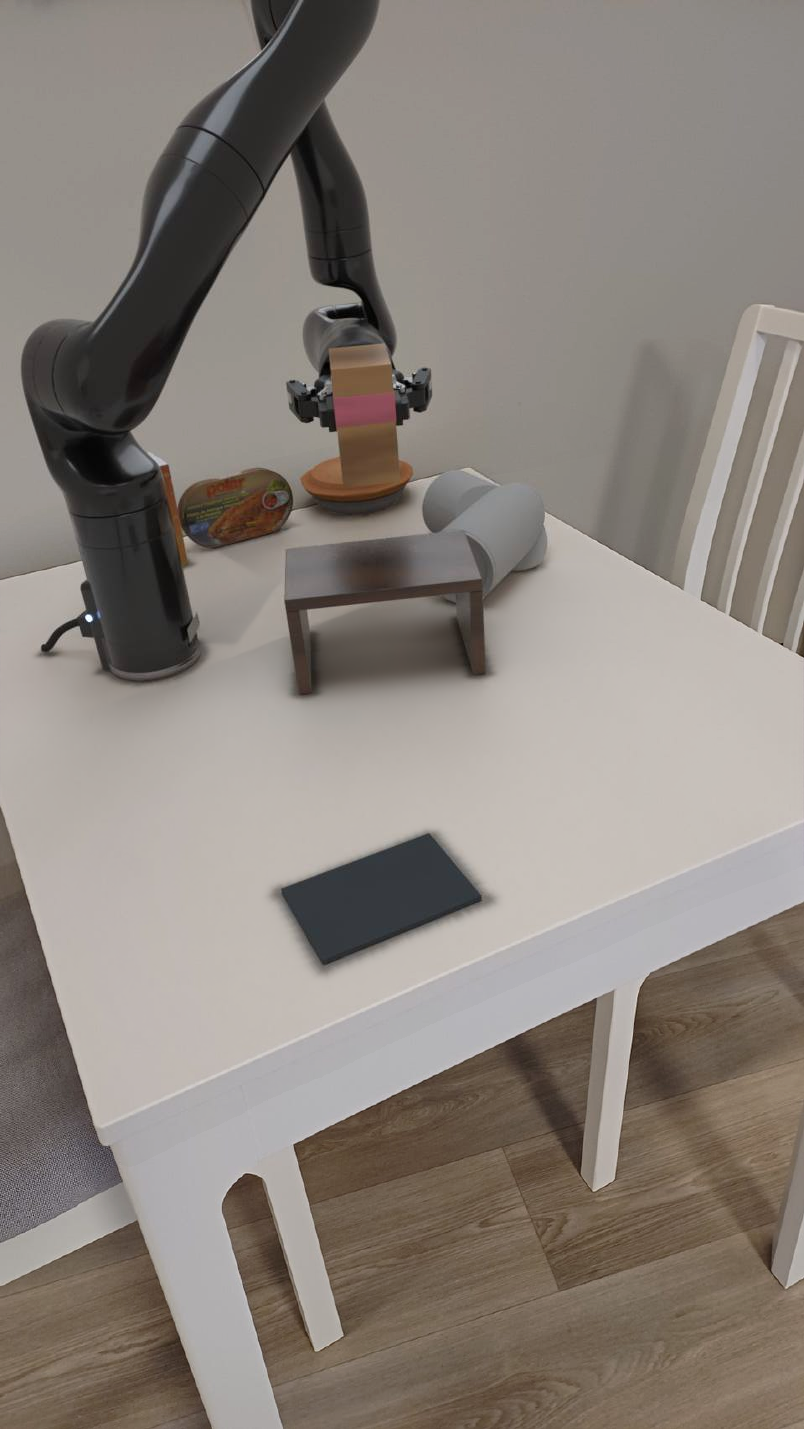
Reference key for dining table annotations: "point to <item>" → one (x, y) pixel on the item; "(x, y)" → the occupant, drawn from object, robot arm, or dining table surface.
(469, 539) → the bent grey cylinder
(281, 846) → the dining table surface
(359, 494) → the pie
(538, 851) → the dining table surface
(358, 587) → the shelf
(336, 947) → the mat
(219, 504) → the tin
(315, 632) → the dining table surface
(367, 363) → the block
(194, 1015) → the dining table surface
